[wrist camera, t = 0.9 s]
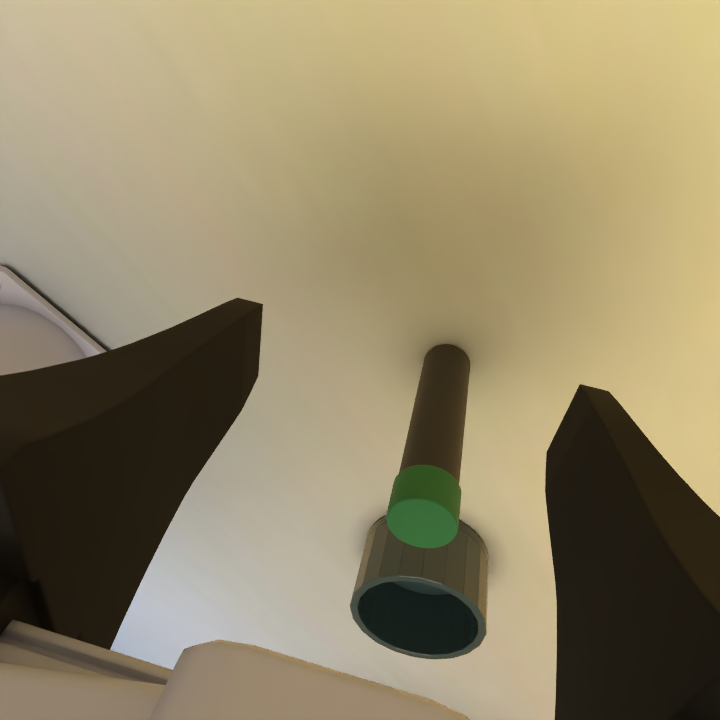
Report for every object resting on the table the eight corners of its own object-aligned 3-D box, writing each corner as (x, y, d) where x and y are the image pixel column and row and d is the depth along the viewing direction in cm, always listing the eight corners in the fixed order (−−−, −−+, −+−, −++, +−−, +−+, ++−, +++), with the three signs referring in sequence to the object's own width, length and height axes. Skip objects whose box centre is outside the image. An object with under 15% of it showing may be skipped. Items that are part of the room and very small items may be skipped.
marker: (443, 392, 25) (418, 557, 18) (411, 359, 25) (371, 516, 17) (482, 368, 24) (473, 534, 17) (450, 333, 23) (425, 488, 16)
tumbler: (420, 602, 34) (411, 670, 30) (343, 536, 32) (323, 601, 29) (513, 567, 30) (514, 640, 27) (433, 491, 29) (423, 559, 25)
